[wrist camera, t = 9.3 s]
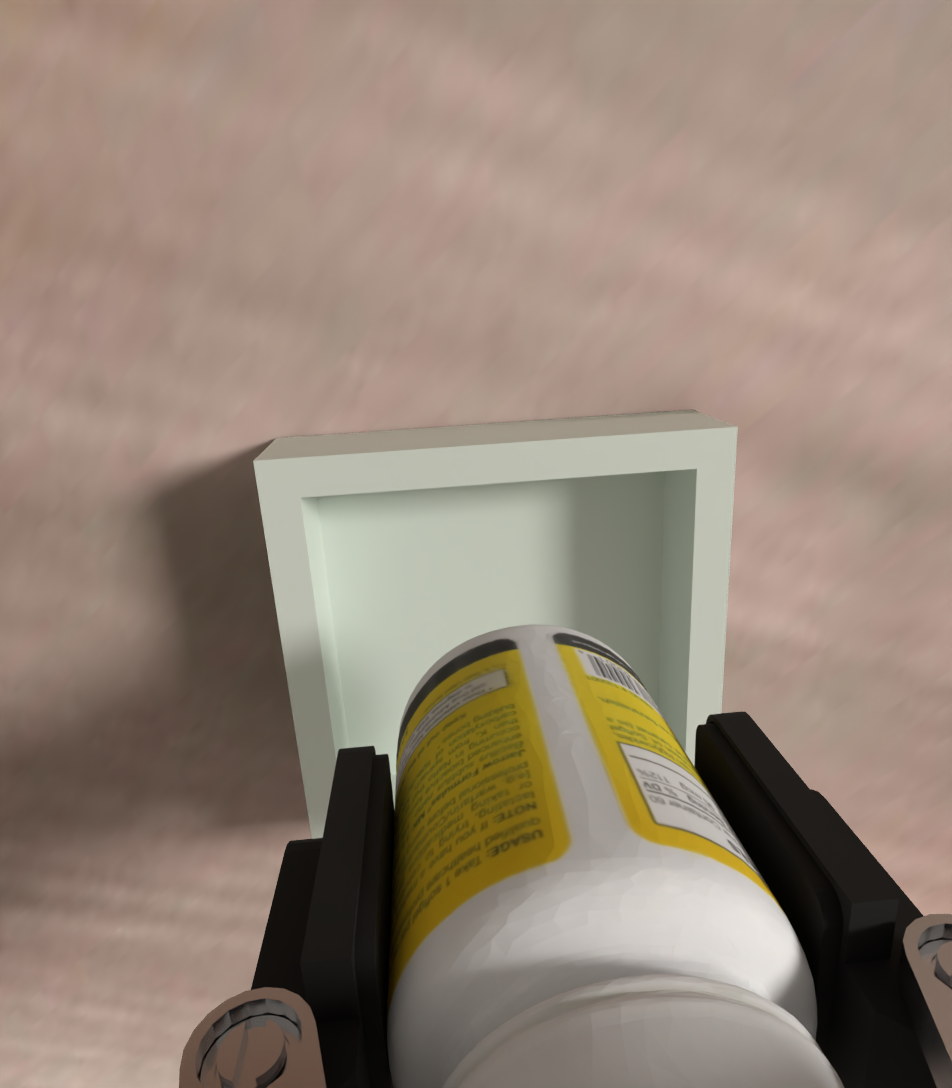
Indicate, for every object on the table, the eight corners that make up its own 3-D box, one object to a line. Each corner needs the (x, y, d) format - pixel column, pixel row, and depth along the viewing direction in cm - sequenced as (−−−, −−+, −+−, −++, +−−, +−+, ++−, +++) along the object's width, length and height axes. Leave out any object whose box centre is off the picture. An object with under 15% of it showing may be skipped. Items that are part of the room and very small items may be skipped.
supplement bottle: (398, 842, 14) (372, 1515, 6) (395, 618, 13) (356, 1123, 5) (640, 833, 15) (904, 1461, 7) (663, 615, 13) (1036, 1081, 5)
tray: (276, 438, 17) (253, 460, 14) (692, 409, 17) (737, 426, 15) (327, 794, 20) (315, 862, 17) (679, 761, 20) (715, 822, 18)
